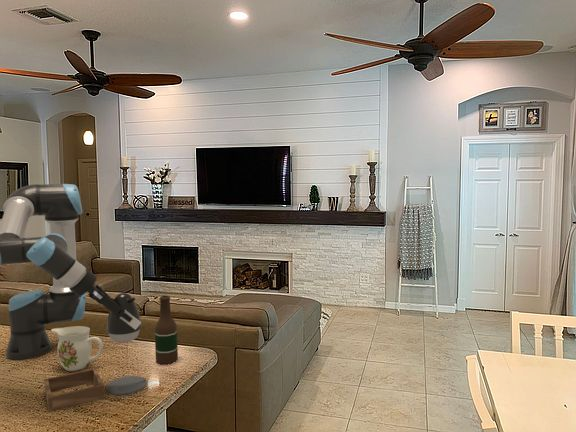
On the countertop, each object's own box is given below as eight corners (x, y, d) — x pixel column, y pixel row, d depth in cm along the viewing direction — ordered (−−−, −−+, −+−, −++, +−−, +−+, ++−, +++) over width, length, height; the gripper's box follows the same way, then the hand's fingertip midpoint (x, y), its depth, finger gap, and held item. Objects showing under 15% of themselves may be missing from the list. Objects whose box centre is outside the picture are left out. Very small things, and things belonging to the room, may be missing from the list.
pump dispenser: (122, 348, 137) (120, 298, 136) (100, 342, 142) (98, 294, 141) (148, 338, 146) (147, 291, 144) (127, 332, 151) (125, 287, 150)
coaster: (103, 383, 148) (103, 381, 148) (141, 375, 154) (141, 372, 154) (110, 398, 137) (110, 396, 137) (150, 388, 144) (150, 386, 144)
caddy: (44, 391, 143) (44, 379, 142) (96, 379, 151) (95, 368, 150) (48, 411, 130) (48, 398, 130) (104, 397, 138) (104, 385, 138)
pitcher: (96, 374, 155) (94, 334, 154) (44, 373, 156) (42, 334, 155) (110, 361, 166) (108, 324, 165) (61, 361, 167) (59, 324, 166)
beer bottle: (182, 359, 168) (180, 294, 166) (168, 366, 160) (166, 300, 159) (165, 355, 171) (163, 292, 169) (151, 363, 164) (148, 297, 162)
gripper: (64, 281, 144) (118, 322, 154) (73, 296, 125) (134, 341, 135) (81, 263, 146) (133, 304, 156) (93, 275, 127) (151, 320, 137)
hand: (134, 321), depth 145 cm, fingers closed on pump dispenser, 10 cm apart
